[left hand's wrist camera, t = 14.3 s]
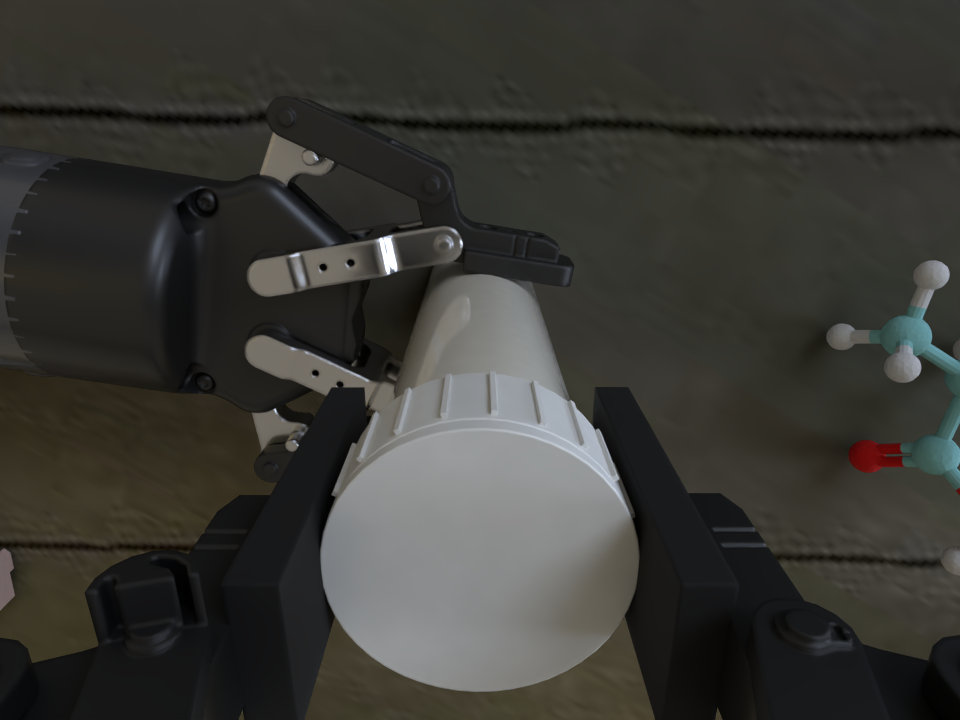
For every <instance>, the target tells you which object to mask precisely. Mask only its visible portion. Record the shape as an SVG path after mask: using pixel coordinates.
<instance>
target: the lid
mask: <svg viewBox="0 0 960 720" xmlns="http://www.w3.org/2000/svg"><path fill="white" fill-rule="evenodd" d="M332 496H335V500H334V502H333V505H332V508H331V510H330V513H329V515H328V518H327V521H326V524H325V527H324V530H323V534H322V540H321V546H320V561H321V571H322V580H323V588H324V591H325V594H326V597H327V601H328V603H329V605H330V607H331V609H332V611H333V613H334V615H335V617H336V619H337V620H338V622H339V623H340V625H341V626H342V628H343V629H344V630H345V632H346V633H347V634H348V635H349V636H350V637H351V639H352V640H353V641H354V642H355V643H356V644H357V645H358V646H359V647H360V648H361V649H363V650H364V651H365V652H366V653H367V654H368V655H369V656H371V657H372V658H374V659H375V660H377V661H378V662H380V663H381V664H382V665H384V666H385V667H387V668H389V669H391V670H393V671H395V672H397V673H399V674H401V675H403V676H405V677H408V678H410V679H413V680H415V681H418V682H421V683H425V684H428V685H432V686H435V687H440V688H445V689H451V690H458V691H472V692H485V691H500V690H508V689H515V688H519V687H524V686H528V685H532V684H535V683H538V682H541V681H544V680H547V679H550V678H552V677H554V676H556V675H559V674H561V673H563V672H565V671H567V670H569V669H570V668H572V667H574V666H575V665H577V664H579V663H580V662H582V661H583V660H585V659H586V658H587V657H588V656H590V655H591V654H592V653H594V652H595V651H596V650H597V649H598V648H599V647H600V646H601V645H602V644H603V643H604V642H605V641H606V640H607V639H608V638H609V637H610V636H611V635H612V633H613V632H614V631H615V630H616V628H617V627H618V626H619V624H620V623H621V621H622V619H623V618H624V616H625V614H626V612H627V611H628V609H629V606H630V604H631V601H632V599H633V596H634V594H635V590H636V585H637V577H638V568H639V558H640V551H639V541H638V537H637V533H636V529H635V525H634V522H633V519H632V518H635V513H634V510H633V508H632V505H631V503H630V500H629V497H628V495H627V492H626V490H625V487H624V485H623V482H622V480H621V477H620V475H619V472H618V470H617V467H616V465H615V463H613V461H612V459H611V456H610V454H609V451H608V449H607V446H606V444H605V441H604V439H603V436H602V433H601V432H600V430H599V429H597V430H595V429H594V428H593V426H592V425H591V424H590V423H589V422H588V420H587V419H586V418H585V417H584V416H583V414H582V413H580V412H579V411H578V410H577V409H576V406H575V403H574V402H573V401H571V400H570V401H569V402H568V401H566V400H565V399H563V398H562V397H560V396H559V395H557V394H556V393H554V392H552V391H550V390H548V389H546V388H544V387H542V386H540V385H539V384H538V382H537V381H535V380H533V381H532V382H530V381H527V380H524V379H521V378H517V377H512V376H507V375H503V374H496V373H495V371H490V372H489V373H465V374H459V375H451V373H450V374H446V375H445V377H443V378H439V379H436V380H432V381H429V382H427V383H424V384H422V385H420V386H417V387H415V388H413V389H410V387H409V388H407V389H405V391H404V394H402V395H401V396H399V397H397V398H396V399H395V400H393V401H392V402H391V403H390V404H388V405H387V406H386V407H384V408H383V409H382V410H381V411H380V412H379V413H377V412H375V413H374V414H373V415H372V417H371V420H370V423H369V425H368V426H367V428H366V429H365V430H364V432H363V433H362V435H361V437H360V439H359V441H358V443H357V444H355V443H352V445H351V447H350V450H349V452H348V455H347V457H346V460H345V462H344V465H343V467H342V470H341V472H340V475H339V477H338V480H337V482H336V485H335V487H334V490H333V492H332Z"/></svg>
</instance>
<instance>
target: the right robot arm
mask: <svg viewBox="0 0 960 720" xmlns="http://www.w3.org/2000/svg"><path fill="white" fill-rule="evenodd" d="M267 122H268V125H269V127H270V128H271V130H272V131H273V134H272V137H271V140H270V143H269V146H268V150H267V153H266V156H265V159H264V162H263V165H262V168H261V171H260V174H257V175H251V176H248V177H245V178H243V179H240V180H238V181H220V180H214V179H208V178H202V177H196V176H189V175H183V174H177V173H171V172H165V171H159V170H152V169H146V168H140V167H134V166H128V165H122V164H115V163H109V162H103V161H97V160H91V159H84V158H78V157H72V156H66V155H60V154H53V153H47V152H41V151H35V150H29V149H22V148H16V147H8V146H0V368H4V369H11V370H18V371H23V372H25V373H28V374H30V375H34V376H44V377H53V376H59V377H66V378H73V379H80V380H87V381H94V382H101V383H108V384H115V385H122V386H129V387H136V388H143V389H150V390H157V391H164V392H171V393H201V394H212V395H216V396H219V397H221V398H223V399H226V400H227V401H229V402H231V403H232V404H234V405H235V406H237V407H238V408H240V409H242V410H244V411H247V412H251V413H252V415H253V419H254V423H255V427H256V430H257V434H258V438H259V442H260V446H261V453H260V455H259V456H258V458H257V459H256V461H255V463H254V470H255V472H256V474H257V476H258V477H259V478H261V479H262V480H264V481H267V482H278V481H279V479H280V478H281V476H282V474H283V472H284V471H285V469H286V467H287V465H288V463H289V462H290V460H291V458H292V456H293V455H294V453H295V451H296V449H297V447H298V446H299V444H300V442H301V440H302V439H303V437H304V435H305V433H306V432H307V430H308V428H309V426H310V424H311V423H312V421H313V419H314V416H313V415H312V414H311V413H304V412H295V411H293V410H291V409H289V408H288V407H287V406H286V405H285V404H286V403H288V402H290V401H292V400H294V399H296V398H298V397H300V396H302V395H305V394H307V393H309V392H311V391H313V390H315V391H317V392H319V393H322V394H324V395H326V396H327V394H328V392H329V391H330V389H331V387H365V400H366V410H374V411H377V412H380V411H381V410H382V409H383V408H384V407H386V406H387V405H388V404H389V401H390V398H391V395H392V392H393V389H394V385H395V382H396V379H397V376H398V373H399V370H400V367H401V364H402V361H400V360H398V359H396V358H395V357H393V355H392V354H391V353H390V352H389V351H388V350H387V349H385V348H384V347H382V346H380V345H378V344H375V343H373V342H371V341H369V340H367V339H365V338H364V334H365V320H364V315H363V309H362V302H363V300H364V297H365V295H366V292H367V290H368V287H369V284H370V279H372V278H378V277H383V276H387V275H390V274H393V273H395V272H398V271H402V270H408V269H414V268H420V267H427V266H433V265H439V264H445V263H450V262H458V263H463V268H462V271H464V272H471V273H477V274H484V275H492V276H497V277H503V278H509V279H515V280H522V281H528V282H535V283H541V284H547V285H554V286H561V287H568V286H570V284H571V279H572V274H573V270H574V264H573V263H572V261H571V260H570V258H569V257H567V256H564V255H560V254H559V251H560V247H559V246H558V244H557V243H556V241H554V240H553V239H551V238H550V237H548V236H546V235H545V234H543V233H538V232H532V231H525V230H520V229H513V228H507V227H501V226H495V225H489V224H483V223H477V222H473V221H471V220H469V219H467V218H466V217H465V216H464V215H463V214H462V212H461V210H460V208H459V205H458V201H457V196H456V191H455V186H454V177H453V173H452V171H451V169H450V168H449V166H447V165H446V164H445V163H443V162H441V161H439V160H437V159H434V158H432V157H430V156H428V155H426V154H424V153H422V152H420V151H418V150H415V149H413V148H411V147H409V146H407V145H405V144H403V143H401V142H399V141H396V140H394V139H392V138H390V137H388V136H386V135H384V134H382V133H380V132H377V131H375V130H373V129H371V128H369V127H367V126H365V125H363V124H360V123H358V122H356V121H354V120H352V119H350V118H348V117H346V116H344V115H341V114H339V113H337V112H335V111H333V110H331V109H329V108H327V107H325V106H322V105H320V104H318V103H316V102H314V101H312V100H308V99H301V98H295V97H288V96H281V97H278V98H276V99H274V100H273V101H272V102H271V103H270V104H269V106H268V109H267ZM338 164H340V165H342V166H344V167H347V168H349V169H351V170H353V171H355V172H358V173H360V174H362V175H364V176H366V177H368V178H371V179H373V180H375V181H377V182H379V183H381V184H384V185H386V186H388V187H390V188H392V189H394V190H397V191H399V192H401V193H403V194H405V195H407V196H410V197H412V198H414V199H416V200H417V202H418V206H419V211H420V215H421V220H419V221H413V222H407V223H400V224H396V223H392V224H385V225H379V226H373V227H367V228H361V229H355V230H349V231H345V230H344V229H343V228H342V227H341V226H340V225H339V224H337V223H336V222H335V221H334V220H333V219H332V218H331V217H330V216H329V215H328V214H327V213H326V212H325V211H324V210H323V209H321V208H320V207H319V206H318V205H317V204H316V203H315V202H314V201H313V200H312V199H311V198H310V197H309V196H308V195H307V194H305V193H304V192H303V191H302V190H301V189H300V188H299V187H298V186H297V185H296V184H295V183H294V182H295V180H296V179H297V177H298V176H299V175H301V174H302V173H305V174H310V175H314V176H320V175H324V174H327V173H330V172H332V171H333V170H334V169H335V168H336V167H337V166H338ZM371 417H372V416H367V426H368V425H369V423H370V420H371Z"/></svg>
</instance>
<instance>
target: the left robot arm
mask: <svg viewBox="0 0 960 720" xmlns="http://www.w3.org/2000/svg"><path fill="white" fill-rule="evenodd" d="M592 426H593V428H594V429H595V430H597V429H599V430H600V432H601V433H602V436H603V439H604V441H605V444H606V446H607V449H608V451H609V454H610V456H611V459H612V461H613V463H615V465H616V467H617V470H618V472H619V475H620V477H621V480H622V482H623V485H624V487H625V490H626V492H627V495H628V497H629V500H630V503H631V505H632V508H633V510H634V513H635V518H632V519H633V522H634V525H635V529H636V533H637V537H638V541H639V551H640V558H639V568H638V577H637V585H636V590H635V594H634V596H633V599H632V601H631V604H630V606H629V609H628V611H627V612H626V614H625V618H626V621H627V625H628V628H629V632H630V635H631V638H632V642H633V645H634V649H635V652H636V655H637V659H638V662H639V666H640V669H641V672H642V676H643V679H644V683H645V686H646V689H647V693H648V696H649V700H650V703H651V706H652V710H653V713H654V717H655V720H715V717H716V712H717V707H718V709H719V712H720V714H721V717H722V719H723V720H960V635H958V636H951V637H944V638H942V639H940V640H939V641H938V642H937V643H936V644H935V645H933V647H932V650H931V653H930V656H929V659H928V661H927V660H923V659H919V658H914V657H910V656H906V655H901V654H897V653H893V652H889V651H884V650H880V649H877V648H873V647H870V646H867V645H864V644H862V643H861V642H860V640H859V639H858V637H857V635H856V634H855V632H854V631H853V629H852V628H851V627H850V626H849V625H847V624H846V623H845V622H844V621H843V620H842V619H840V618H839V617H838V616H837V615H835V614H833V613H832V612H830V611H828V610H826V609H824V608H822V607H820V606H818V605H816V604H813V603H809V602H806V601H804V599H803V598H802V596H801V595H800V594H799V592H798V591H797V589H796V588H795V586H794V585H793V583H792V582H791V580H790V579H789V577H788V576H787V574H786V573H785V571H784V570H783V569H782V567H781V566H780V564H779V563H778V561H777V560H776V558H775V557H774V555H773V554H772V552H771V551H770V549H769V548H766V546H765V542H764V541H763V539H762V538H761V536H760V535H759V533H758V532H755V527H754V526H753V524H752V523H751V522H750V520H749V519H748V517H747V516H746V514H745V513H744V511H743V510H742V509H741V508H740V507H738V506H737V505H736V504H734V503H733V502H731V501H730V500H729V499H727V498H726V497H724V496H723V495H722V494H720V493H687V491H686V489H685V487H684V485H683V484H682V482H681V480H680V478H679V477H678V475H677V473H676V471H675V469H674V468H673V466H672V464H671V462H670V461H669V459H668V457H667V455H666V453H665V452H664V450H663V448H662V446H661V445H660V443H659V441H658V439H657V437H656V436H655V434H654V432H653V430H652V429H651V427H650V425H649V423H648V421H647V420H646V418H645V416H644V414H643V413H642V411H641V409H640V407H639V406H638V404H637V402H636V400H635V398H634V397H633V395H632V393H631V391H630V390H629V388H628V387H595V396H594V410H593V424H592ZM366 428H367V415H366V400H365V387H331V389H330V391H329V392H328V394H327V396H326V398H325V400H324V401H323V403H322V405H321V407H320V408H319V410H318V412H317V414H316V416H315V417H314V419H313V421H312V423H311V424H310V426H309V428H308V430H307V432H306V433H305V435H304V437H303V439H302V440H301V442H300V444H299V446H298V447H297V449H296V451H295V453H294V455H293V456H292V458H291V460H290V462H289V463H288V465H287V467H286V469H285V471H284V472H283V474H282V476H281V478H280V479H279V481H278V483H277V485H276V487H275V488H274V490H273V492H272V494H271V495H239V496H238V497H237V498H235V499H234V500H233V501H231V502H230V503H229V504H227V505H226V506H224V507H223V508H222V509H220V510H219V511H218V512H217V513H216V515H215V516H214V518H213V519H212V521H211V522H210V524H209V525H208V527H207V528H206V529H205V534H202V535H201V537H200V538H199V540H198V541H197V543H196V544H195V548H194V550H191V552H190V553H189V555H188V554H186V553H182V552H178V551H174V550H167V551H152V552H148V553H144V554H140V555H136V556H132V557H130V558H128V559H126V560H124V561H121V562H119V563H117V564H115V565H113V566H111V567H110V568H108V569H107V570H106V571H104V572H103V573H102V574H100V575H99V576H98V577H96V578H95V579H94V581H93V582H92V583H91V585H90V586H89V587H88V589H87V590H86V591H85V596H86V599H87V603H88V606H89V610H90V614H91V617H92V621H93V625H94V628H95V632H96V636H97V639H98V643H99V644H98V647H95V648H92V649H88V650H85V651H82V652H78V653H74V654H70V655H65V656H61V657H57V658H53V659H48V660H44V661H40V662H36V663H32V661H31V658H30V655H29V652H28V649H27V648H26V647H25V646H24V645H23V644H21V643H20V642H19V641H18V640H11V639H5V638H0V720H238V719H239V716H240V714H241V712H242V709H243V714H244V719H245V720H304V719H305V715H306V712H307V709H308V705H309V702H310V698H311V695H312V692H313V688H314V685H315V681H316V678H317V675H318V671H319V668H320V664H321V661H322V658H323V654H324V651H325V647H326V644H327V641H328V637H329V634H330V630H331V627H332V624H333V620H334V617H335V615H334V613H333V611H332V609H331V607H330V605H329V603H328V601H327V597H326V594H325V591H324V588H323V580H322V571H321V561H320V546H321V540H322V534H323V530H324V527H325V524H326V521H327V518H328V515H329V513H330V510H331V508H332V505H333V502H334V500H335V496H332V492H333V490H334V487H335V485H336V482H337V480H338V477H339V475H340V472H341V470H342V467H343V465H344V462H345V460H346V457H347V455H348V452H349V450H350V447H351V445H352V443H355V444H357V443H358V441H359V439H360V437H361V435H362V433H363V432H364V430H365V429H366Z"/></svg>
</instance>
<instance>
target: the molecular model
mask: <svg viewBox="0 0 960 720" xmlns="http://www.w3.org/2000/svg"><path fill="white" fill-rule="evenodd" d="M949 275H950V274H949V270H948V267H947V266H945V265H944V264H943V263H942V262H939V261H926V262H924V263H921V264H920V265H919V266H918V267H917V268H916V269H915V271H914V273H913V280H914V282H915V284H916V285H917V288H916V291H915V293H914V295H913V298H912V300H911V303H910V305H909V307H908V310H907V312H906V315H901V316H897V317H894V318H892V319H891V320H889V321H888V322H887V323H886V324H885V325H884V326H883V328H882V330H855V329H854V328H853V327H851V326H850V325H847V324H837V325H834V326H833V327H831V328H830V329H829V331H828V332H827V336H826V338H827V342H828V343H829V345H830V346H831V347H832V348H835V349H837V350H846V349H849V348H851V347H852V346H853V345H854V344H882V346H883V347H884V349H885V350H886V351H887V352H888V353H889V354H891V356H889V357H888V358H887V360H886V361H885V363H884V371H885V373H886V375H887V376H888V377H889V378H890V379H891V380H893V381H896V382H901V383H906V382H910V381H913V380H914V379H915V378H916V377H917V376H918V375H919V374H920V371H921V363H920V361H919V359H918V358H917V357H915V356H918V355H921V356H922V357H924V358H925V359H927V360H929V361H930V362H932V363H933V364H935V365H936V366H938V367H939V368H941V369H942V370H944V371H946V373H945V383H946V386H947V388H948V389H949V390H950V391H951V392H952V393H953V394H954V396H953V398H952V400H951V402H950V405H949V407H948V409H947V411H946V413H945V415H944V417H943V420H942V422H941V424H940V426H939V429H938V431H937V433H936V434H930V435H925V436H923V437H921V438H919V439H918V440H917V441H916V442H915V443H897V444H878V443H876V442H874V441H870V440H862V441H858V442H856V443H855V444H854V445H853V446H851V448H850V450H849V460H850V462H851V464H852V465H853V466H854V467H855V468H856V469H858V470H860V471H862V472H867V473H872V472H875V471H878V470H879V469H881V468H882V467H918V468H920V469H921V470H922V471H924V472H926V473H929V474H933V475H944V476H945V478H946V479H947V480H948V481H949V482H950V484H951V485H952V486H953V487H954V489H955V490H956V491H957V493H958V494H959V495H960V471H959V470H958V469H957V467H958V465H959V463H960V449H959V447H958V446H957V445H956V443H955V442H954V441H952V438H953V436H954V433H955V431H956V429H957V427H958V425H959V423H960V339H959V340H958V341H957V342H956V343H955V344H954V346H953V353H954V356H955V357H956V358H957V359H958V360H955V359H953V358H952V357H950V356H949V355H947V354H946V353H944V352H943V351H941V350H939V349H938V348H936V347H935V346H933V345H932V344H930V343H931V340H932V332H931V329H930V327H929V326H928V324H927V323H926V322H925V321H923V320H922V318H923V316H924V313H925V311H926V309H927V306H928V304H929V302H930V299H931V297H932V294H933V292H934V290H935V289H938V288H941V287H942V286H944V285H945V284H946V283H947V281H948V279H949ZM886 454H911V456H899V457H886ZM941 562H942V564H943V566H944V567H945V569H946V570H948V571H949V572H950V573H953V574H955V575H960V546H959V547H949V548H947V549H946V550H944V551H943V553H942V555H941Z"/></svg>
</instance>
